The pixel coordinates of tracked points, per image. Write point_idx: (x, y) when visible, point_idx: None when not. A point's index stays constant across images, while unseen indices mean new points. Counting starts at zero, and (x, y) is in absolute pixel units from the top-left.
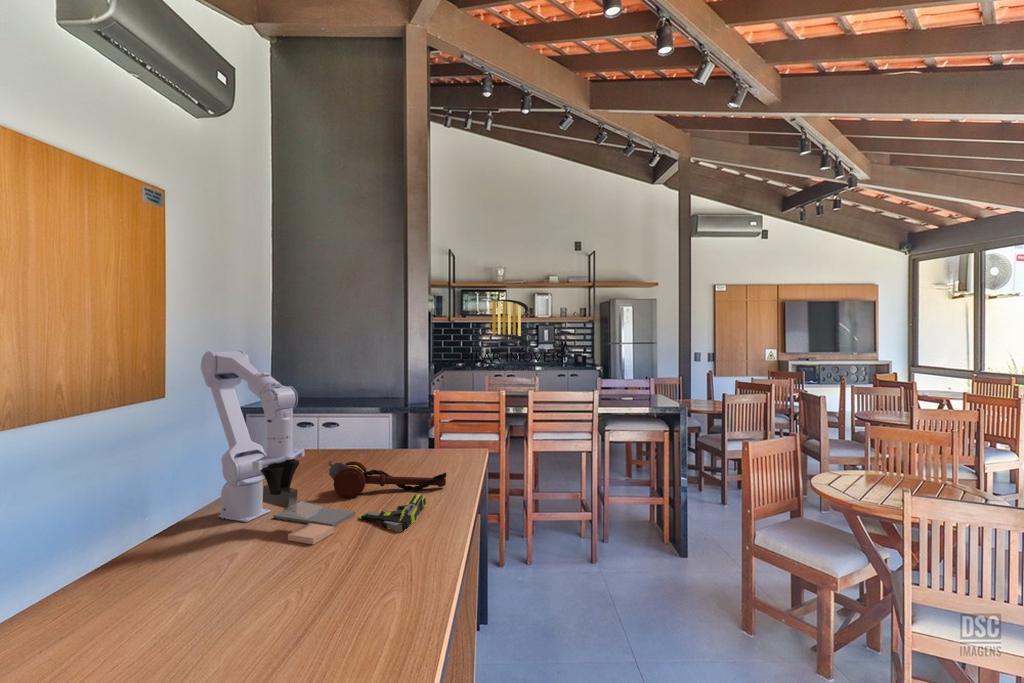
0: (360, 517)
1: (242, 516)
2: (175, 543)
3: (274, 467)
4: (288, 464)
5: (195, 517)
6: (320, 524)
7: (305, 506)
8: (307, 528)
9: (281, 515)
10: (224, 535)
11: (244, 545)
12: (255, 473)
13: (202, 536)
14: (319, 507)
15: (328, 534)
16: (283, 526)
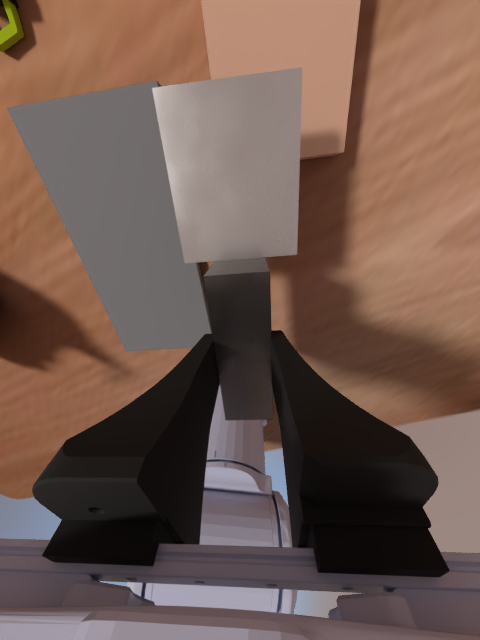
0: (11, 11)
1: None
2: (393, 394)
3: (365, 508)
4: (168, 486)
5: (277, 446)
6: None
7: (213, 196)
8: None
9: (204, 328)
10: (337, 353)
11: (388, 264)
12: (212, 501)
13: (352, 383)
14: (173, 115)
15: None
16: None
